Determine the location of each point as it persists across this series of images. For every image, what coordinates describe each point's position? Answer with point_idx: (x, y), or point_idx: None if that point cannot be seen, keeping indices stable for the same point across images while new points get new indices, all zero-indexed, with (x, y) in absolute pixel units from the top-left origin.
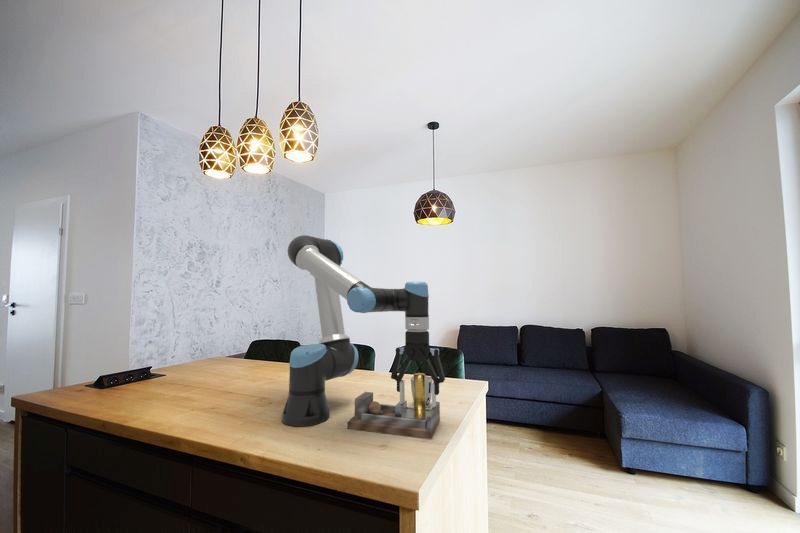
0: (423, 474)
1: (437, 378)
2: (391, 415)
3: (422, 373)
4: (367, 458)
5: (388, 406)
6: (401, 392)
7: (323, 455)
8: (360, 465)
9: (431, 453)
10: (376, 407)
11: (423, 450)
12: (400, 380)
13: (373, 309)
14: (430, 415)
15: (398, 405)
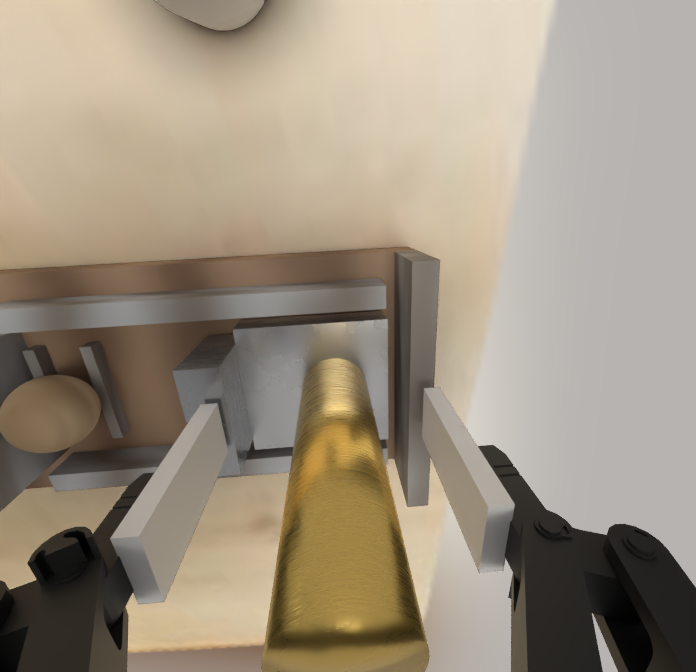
0: (422, 593)
1: (567, 566)
2: (163, 355)
3: (374, 622)
4: (260, 587)
5: (94, 327)
6: (197, 512)
7: (139, 612)
8: (263, 612)
9: (423, 514)
10: (75, 442)
11: (396, 508)
12: (125, 601)
13: None
14: (422, 490)
15: None
